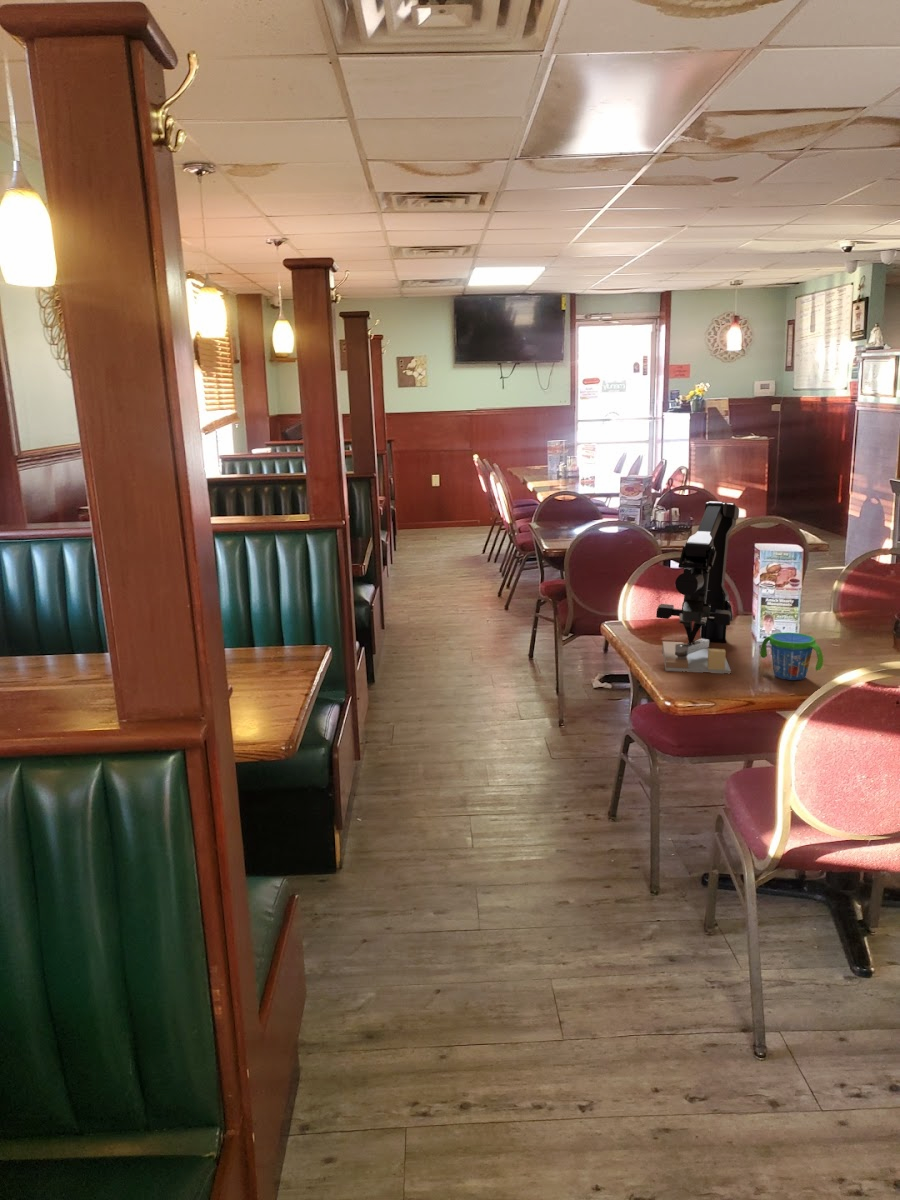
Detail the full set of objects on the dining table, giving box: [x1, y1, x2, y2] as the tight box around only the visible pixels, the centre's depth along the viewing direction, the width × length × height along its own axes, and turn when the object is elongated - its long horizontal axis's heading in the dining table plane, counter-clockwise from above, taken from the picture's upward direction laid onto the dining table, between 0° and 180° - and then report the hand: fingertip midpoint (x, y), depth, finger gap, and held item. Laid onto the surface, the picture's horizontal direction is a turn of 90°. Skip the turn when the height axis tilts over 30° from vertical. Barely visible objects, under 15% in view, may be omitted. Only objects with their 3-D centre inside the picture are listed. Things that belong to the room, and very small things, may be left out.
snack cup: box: [759, 632, 824, 681], centre depth 210 cm, size 16×10×10 cm
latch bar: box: [675, 637, 710, 656], centre depth 223 cm, size 13×3×2 cm, turn 133°
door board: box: [661, 641, 732, 675], centre depth 225 cm, size 16×20×6 cm
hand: (690, 645), depth 227 cm, fingers closed
